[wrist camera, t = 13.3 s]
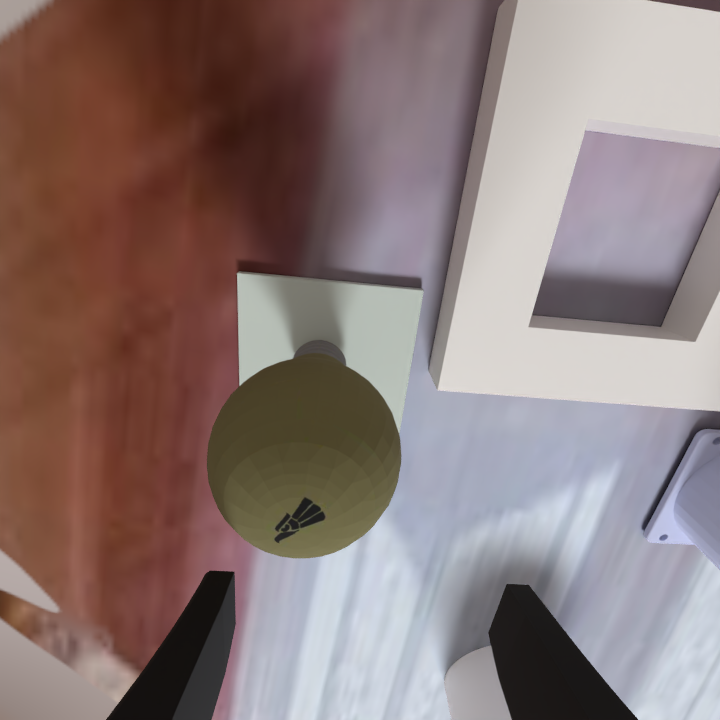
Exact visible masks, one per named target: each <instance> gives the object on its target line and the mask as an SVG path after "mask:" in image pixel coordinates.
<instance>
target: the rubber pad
mask: <svg viewBox="0 0 720 720" xmlns="http://www.w3.org/2000/svg"><path fill="white" fill-rule="evenodd" d="M237 286H238V335H239V385H241V384H242V383H243V382H245V381H246V380H247V379H249V378H250V377H251V376H253V375H254V374H256V373H257V372H259V371H260V370H262V369H263V368H266V367H268V366H271V365H273V364H276V363H278V362H282V361H285V360H290V359H293V357H294V354H295V353H296V351H297V350H298V349H299V348H300V347H301V346H302V345H303V344H305V343H307V342H310V341H314V340H324V341H328V342H330V343H333V344H334V345H336V346H337V347H338V348H339V349H340V350H341V351H342V353H343V354H344V356H345V359H346V366H347V367H349V368H351V369H352V370H354V371H356V372H357V373H359V374H360V375H361V376H363V377H364V378H366V379H367V380H368V381H369V382H370V383H371V384H372V385H373V386H374V387H375V388H376V389H377V390H378V392H379V393H380V394H381V395H382V397H383V398H384V400H385V401H386V403H387V405H388V406H389V408H390V410H391V412H392V414H393V417H394V420H395V423H396V426H397V429H398V432H400V427H401V421H402V415H403V409H404V403H405V397H406V391H407V386H408V380H409V374H410V368H411V362H412V356H413V351H414V345H415V339H416V333H417V327H418V321H419V315H420V310H421V304H422V298H423V292H424V290H423V289H421V288H411V287H400V286H390V285H379V284H369V283H358V282H347V281H337V280H326V279H316V278H305V277H295V276H284V275H273V274H263V273H252V272H242V271H239V272H238V273H237Z"/></svg>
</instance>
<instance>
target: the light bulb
mask: <svg viewBox="0 0 720 720" xmlns="http://www.w3.org/2000/svg"><path fill="white" fill-rule="evenodd" d="M400 465H401V446H400V436H399V432H398V429H397V426H396V423H395V420H394V417H393V414H392V412H391V410H390V408H389V406H388V405H387V403H386V401H385V400H384V398H383V397H382V395H381V394H380V393H379V392H378V390H377V389H376V388H375V387H374V386H373V385H372V384H371V383H370V382H369V381H368V380H367V379H366V378H364V377H363V376H361V375H360V374H359V373H357V372H356V371H354V370H352V369H351V368H349V367H347V366H346V359H345V356H344V354H343V353H342V351H341V350H340V349H339V348H338V347H337V346H336V345H334V344H333V343H330V342H328V341H324V340H314V341H310V342H307V343H305V344H303V345H302V346H301V347H300V348H299V349H298V350H297V351H296V353H295V354H294V357H293V359H290V360H285V361H282V362H278V363H276V364H273V365H271V366H268V367H266V368H263V369H262V370H260V371H259V372H257V373H256V374H254V375H253V376H251V377H250V378H249V379H247V380H246V381H245V382H243V383H242V384H241V385H240V386H239V387H238V388H237V389H236V390H235V391H234V392H233V393H232V394H231V396H230V397H229V398H228V400H227V401H226V403H225V404H224V406H223V407H222V409H221V411H220V413H219V415H218V417H217V419H216V421H215V423H214V425H213V428H212V432H211V436H210V440H209V443H208V456H207V471H208V480H209V485H210V488H211V491H212V494H213V497H214V499H215V502H216V504H217V506H218V509H219V510H220V512H221V514H222V515H223V517H224V519H225V520H226V521H227V522H228V524H229V525H230V526H231V527H232V528H233V529H234V530H235V531H236V532H237V533H238V534H239V535H240V536H241V537H242V538H243V539H244V540H246V541H247V542H249V543H250V544H252V545H253V546H255V547H257V548H259V549H261V550H263V551H265V552H268V553H271V554H274V555H278V556H282V557H289V558H313V557H320V556H324V555H328V554H331V553H334V552H337V551H339V550H341V549H343V548H345V547H347V546H348V545H350V544H351V543H353V542H354V541H356V540H357V539H359V538H360V537H362V536H363V535H364V534H365V533H367V532H368V531H369V530H370V529H371V528H372V527H373V526H374V525H375V523H376V522H377V520H378V519H379V518H380V516H381V515H382V514H383V512H384V511H385V509H386V508H387V507H388V505H389V503H390V501H391V498H392V496H393V494H394V491H395V488H396V486H397V483H398V477H399V471H400Z"/></svg>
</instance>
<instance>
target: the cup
mask: <svg viewBox="0 0 720 720" xmlns="http://www.w3.org/2000/svg"><path fill="white" fill-rule="evenodd" d="M444 686H445V691H446V696H447V701H448V706H449V710H450V715H451V720H512V719H511V716H510V713H509V709H508V706H507V703H506V700H505V697H504V694H503V691H502V688H501V685H500V681H499V678H498V674H497V670H496V665H495V661H494V657H493V652H492V647H491V646H487V647H483V648H480V649H477V650H474V651H472V652H470V653H468V654H466V655H464V656H463V657H461V658H460V659H459V660H457V661H456V662H455V663H454V664H453V665H452V666H451V667H450V668H449V670H448V671H447V673H446V676H445V679H444Z"/></svg>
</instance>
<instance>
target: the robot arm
mask: <svg viewBox="0 0 720 720" xmlns="http://www.w3.org/2000/svg"><path fill="white" fill-rule="evenodd" d="M643 535H644V537H645V538H646V540H647V541H649V542H651V543H669V544H691V545H696V546H697V547H698V548H699V549H700V550H701V551H702V552H703V553H704V554H705V555H706V557H707V558H708V559H709V560H710V561H711V562H712V563H713V564H714V565H715V566H716V567H717V568H718V569H719V570H720V430H715V429H703V430H701V431H699V432H698V433H697V434H696V435H695V436H694V438H693V440H692V442H691V444H690V446H689V448H688V450H687V452H686V453H685V455H684V457H683V459H682V461H681V463H680V465H679V467H678V469H677V470H676V472H675V474H674V476H673V478H672V480H671V482H670V484H669V486H668V488H667V489H666V491H665V493H664V495H663V497H662V499H661V501H660V503H659V505H658V506H657V508H656V510H655V512H654V514H653V516H652V518H651V520H650V522H649V523H648V525H647V527H646V529H645V531H644V534H643ZM235 624H236V622H235V576H234V572H228V571H209V572H207V573H206V574H205V576H204V578H203V579H202V581H201V583H200V585H199V587H198V588H197V590H196V592H195V593H194V595H193V597H192V598H191V600H190V602H189V603H188V605H187V606H186V608H185V610H184V611H183V613H182V614H181V616H180V617H179V619H178V620H177V622H176V623H175V625H174V627H173V628H172V630H171V631H170V633H169V634H168V635H167V637H166V638H165V640H164V641H163V643H162V644H161V646H160V647H159V648H158V650H157V651H156V653H155V654H154V656H153V657H152V659H151V660H150V661H149V663H148V664H147V666H146V667H145V669H144V670H143V671H142V673H141V674H140V675H139V677H138V678H137V679H136V681H135V682H134V683H133V685H132V686H131V687H130V689H129V690H128V691H127V693H126V694H125V695H124V697H123V698H122V699H121V701H120V702H119V703H118V705H117V706H116V707H115V709H114V710H113V711H112V713H111V714H110V715H109V717H108V718H107V719H106V720H211V719H212V716H213V712H214V709H215V706H216V702H217V699H218V696H219V692H220V689H221V686H222V682H223V679H224V675H225V672H226V667H227V663H228V658H229V653H230V649H231V644H232V639H233V634H234V629H235ZM489 638H490V643H491V647H492V652H493V657H494V661H495V665H496V670H497V674H498V678H499V681H500V685H501V688H502V691H503V694H504V697H505V700H506V703H507V706H508V709H509V713H510V716H511V719H512V720H638V719H637V718H636V717H635V715H634V714H633V713H632V712H631V711H630V710H629V709H628V707H627V706H626V705H625V704H624V703H623V702H622V701H621V699H620V698H619V697H618V696H617V695H616V693H615V692H614V691H613V690H612V689H611V688H610V686H609V685H608V684H607V683H606V682H605V680H604V679H603V678H602V677H601V675H600V674H599V673H598V672H597V671H596V669H595V668H594V667H593V666H592V665H591V663H590V662H589V661H588V660H587V658H586V657H585V656H584V655H583V654H582V652H581V651H580V650H579V649H578V647H577V646H576V645H575V644H574V642H573V641H572V640H571V638H570V637H569V636H568V635H567V633H566V632H565V631H564V630H563V628H562V627H561V626H560V624H559V623H558V622H557V621H556V619H555V618H554V617H553V615H552V614H551V613H550V612H549V610H548V609H547V608H546V606H545V605H544V604H543V603H542V601H541V600H540V599H539V598H538V596H537V595H536V594H535V592H534V591H533V590H532V589H531V587H530V586H529V585H517V584H507V585H506V587H505V590H504V593H503V595H502V598H501V601H500V603H499V606H498V609H497V611H496V614H495V617H494V619H493V622H492V625H491V627H490V630H489Z"/></svg>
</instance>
